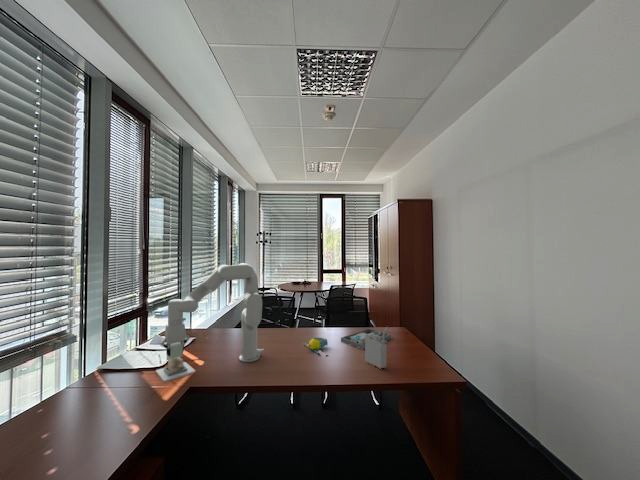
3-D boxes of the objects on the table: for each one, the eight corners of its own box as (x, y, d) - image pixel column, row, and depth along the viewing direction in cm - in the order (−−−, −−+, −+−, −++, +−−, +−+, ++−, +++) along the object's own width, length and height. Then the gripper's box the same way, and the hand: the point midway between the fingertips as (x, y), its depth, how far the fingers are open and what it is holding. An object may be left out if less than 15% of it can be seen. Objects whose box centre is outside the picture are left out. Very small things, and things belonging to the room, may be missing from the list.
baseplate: (185, 363, 171) (185, 359, 171) (195, 372, 160) (195, 368, 160) (155, 371, 160) (155, 368, 160) (163, 382, 149) (163, 378, 149)
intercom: (384, 332, 219) (362, 339, 203) (384, 337, 219) (361, 345, 203) (371, 327, 229) (348, 334, 213) (371, 333, 229) (348, 340, 213)
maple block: (179, 367, 164) (179, 356, 164) (183, 370, 160) (183, 359, 160) (168, 370, 160) (168, 359, 160) (171, 374, 156) (171, 363, 156)
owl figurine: (297, 333, 203) (315, 330, 211) (297, 345, 203) (315, 342, 211) (317, 345, 179) (337, 342, 187) (317, 359, 179) (337, 355, 187)
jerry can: (390, 369, 164) (390, 326, 164) (384, 372, 162) (384, 327, 162) (370, 360, 177) (371, 320, 177) (365, 362, 174) (365, 321, 174)
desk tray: (368, 331, 231) (368, 328, 231) (391, 338, 216) (391, 334, 216) (340, 341, 209) (340, 337, 209) (363, 350, 194) (363, 345, 193)
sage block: (179, 352, 164) (179, 342, 164) (182, 355, 160) (182, 345, 160) (167, 355, 160) (167, 344, 160) (171, 358, 156) (171, 347, 156)
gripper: (189, 317, 169) (189, 348, 169) (156, 323, 157) (156, 356, 157) (193, 320, 163) (193, 351, 163) (160, 326, 151) (160, 360, 151)
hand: (175, 353), depth 160 cm, fingers closed on sage block, 6 cm apart
